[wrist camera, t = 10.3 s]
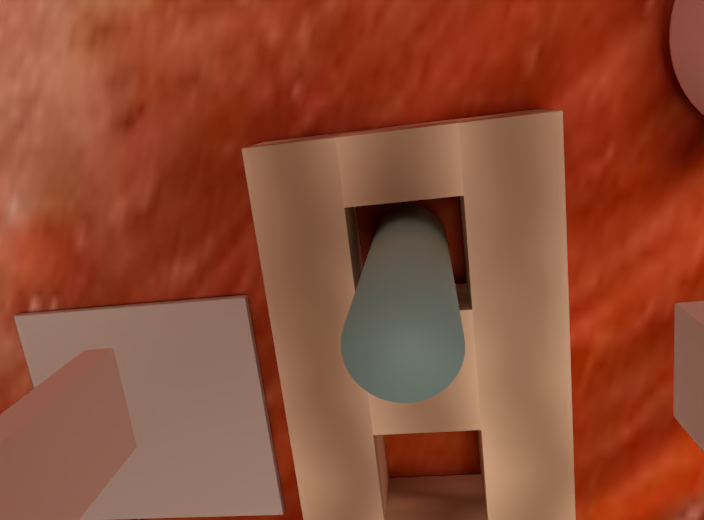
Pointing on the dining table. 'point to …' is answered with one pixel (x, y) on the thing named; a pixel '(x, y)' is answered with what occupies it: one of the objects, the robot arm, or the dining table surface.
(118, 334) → the mat
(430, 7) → the dining table surface
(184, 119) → the dining table surface
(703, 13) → the mug
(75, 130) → the dining table surface
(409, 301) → the peg
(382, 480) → the hole block
